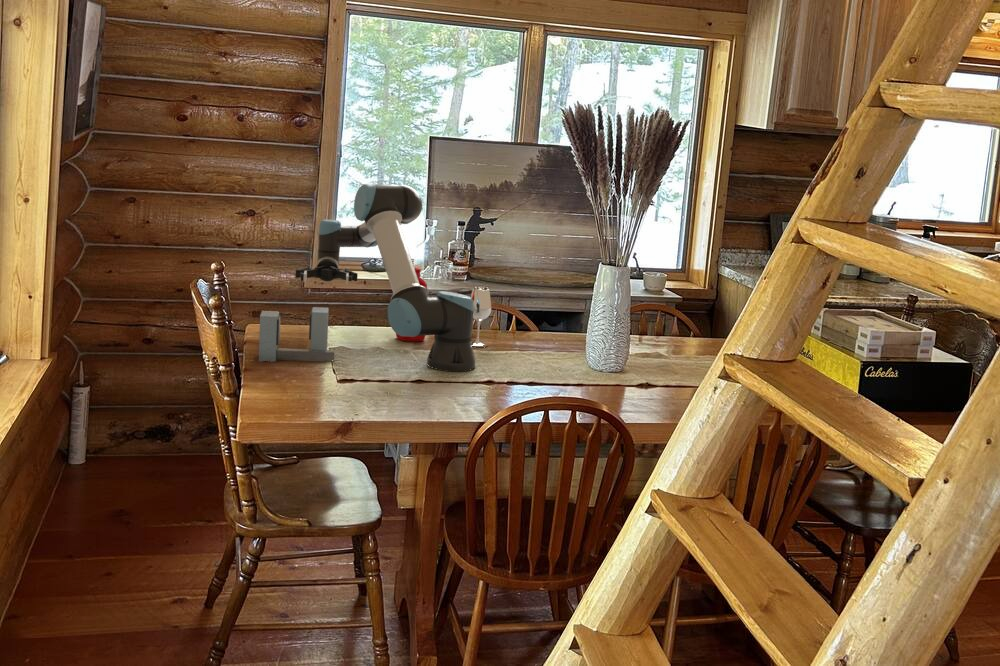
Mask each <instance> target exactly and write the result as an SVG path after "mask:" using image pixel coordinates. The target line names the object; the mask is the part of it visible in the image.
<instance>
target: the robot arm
mask: <svg viewBox="0 0 1000 666" xmlns="http://www.w3.org/2000/svg"><path fill="white" fill-rule="evenodd" d="M422 210H423V200H422V197H421V195H420V194H419V193H418V191H417V190H416V189H414V188H413V187H411V186H409V185H405V184H379V183H378V184H375V183H374V182H372V183H365V184H362V185H360V187H359V188H358V189H357V191H356V193H355V197H354V202H353V212H354V216H355V218H356V220H358V221H360V222H363V223H361V224H359V225H342V223H341V221H340V220H337V219H322V220H320V221H319V226H318V233H317V234H318V242H317V243H318V247H317V259H316V260H317V262H316V263H317V264H316V267H314V268H312V266H310V265H309V266H306V267H303V268H302V267H301V268H299V269H295V276H294V277H295V278H296V279H298V278H300V281H303V283H306V282H307V279H309V278H316V279H320V280H321V281H324V282H331V281H333V280H338V279H341V280H344V281H345V285H348V286H349V282H352V281H354V282H357V281H358V273H357V272H354V271H353V270H349V269H348V268H344V269H342V270H340V252H341V251H340V249H341V248H372V247H373V248H374V247H377V248H378V249H379V254H380V257H381V260H382V263H383V266H384V269H385V271H386V275H387V277H388V281H389V285H390V288H391V291H392V296H391V298H390V302H389V304H388V305H387V319H388V323H389V326H390V327H391V329H392V331H393V332H394V333H395V334H396V333H397V334H398V335H400V336H409V337H415V336H425V337H426V336H434V337H433V338H434V339H433V343H432V345H431V348H430V351H429V353H428V356H427V360H426V365H427V364H428V365H429V366H430V367H429V366H428V365H427V366H428V367H429V368H431V367H433V368H432V369H434V368H437V369H436V370H438V369H441V370H440V371H443V370H448V371H447V372H466V371H465V370H469V371H471V370H470V369H472V370H474V369H476V357H475V354H474V348H473V347H472V345H471V342H472V334H473V333H472V323H473V324H474V319H473V312H474V302H473V299H472V298H471V297H469V296H466V295H462V294H458V293H452V292H447V291H444V290H443V291H442V290H441V291H440V290H439V291H437V293H436V295H435V296H434V297H433V296H431V297H430V295H429V292H427V291H428V288H427V289H426V288H425V287H423V286H421V285H420V284H419V281H418V278H417V275H416V272H415V269H414V268H415V267H414V264H413V261H412V257H411V255H410V251H409V249H408V246H407V243H406V239H405V237H404V234H403V230H402V227H401V226H402V225H408V224H410V223H413V221H415V220H416V219H418V218H419V216H420V215H421V214H422ZM473 368H474V369H473Z"/></svg>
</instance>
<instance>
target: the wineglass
mask: <svg viewBox="0 0 1000 666" xmlns="http://www.w3.org/2000/svg"><path fill="white" fill-rule="evenodd" d="M471 298H472V299H473V302H474V312H473V321H476V324H477V325H476V327H477V331H476V339H475V341H471V345H472V346H483V345H485V344H486V343H485V344H484V342H481V340H480V337H479V336H480V325H481V322H483V321H484V320H486V319H487V318H489V316H490V314H491V312H492V301H491V293H490V288H488V287H485V286H483V287H482V286H475V287H472V294H471Z"/></svg>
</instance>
